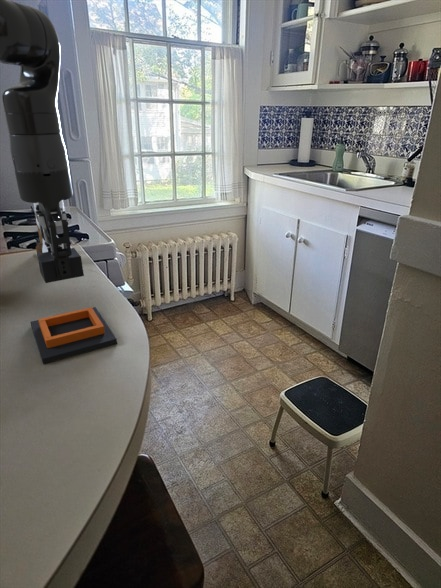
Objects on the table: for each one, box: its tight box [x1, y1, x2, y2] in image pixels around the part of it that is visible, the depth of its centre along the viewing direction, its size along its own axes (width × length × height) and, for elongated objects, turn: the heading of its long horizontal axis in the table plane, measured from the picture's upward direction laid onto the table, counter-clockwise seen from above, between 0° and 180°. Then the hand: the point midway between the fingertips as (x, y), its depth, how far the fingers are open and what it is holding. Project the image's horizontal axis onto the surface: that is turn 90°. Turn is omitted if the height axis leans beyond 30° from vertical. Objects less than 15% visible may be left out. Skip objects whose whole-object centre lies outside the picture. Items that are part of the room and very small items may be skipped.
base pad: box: [30, 306, 118, 365], centre depth 70 cm, size 12×14×2 cm
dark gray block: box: [36, 247, 85, 284], centre depth 65 cm, size 6×5×4 cm
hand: (61, 272), depth 65 cm, fingers closed on dark gray block, 5 cm apart
